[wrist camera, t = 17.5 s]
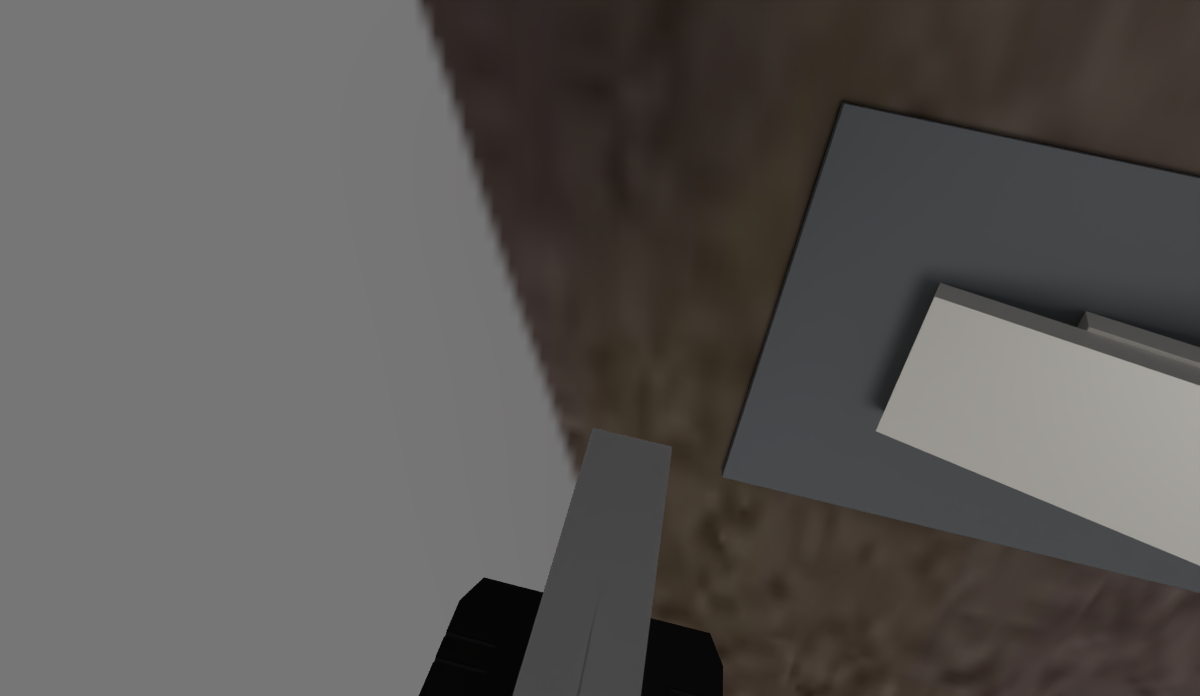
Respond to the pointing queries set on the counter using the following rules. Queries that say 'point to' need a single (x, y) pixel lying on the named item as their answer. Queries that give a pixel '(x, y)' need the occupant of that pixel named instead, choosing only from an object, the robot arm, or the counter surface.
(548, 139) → the counter surface
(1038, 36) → the counter surface
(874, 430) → the mat
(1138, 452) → the end domino
